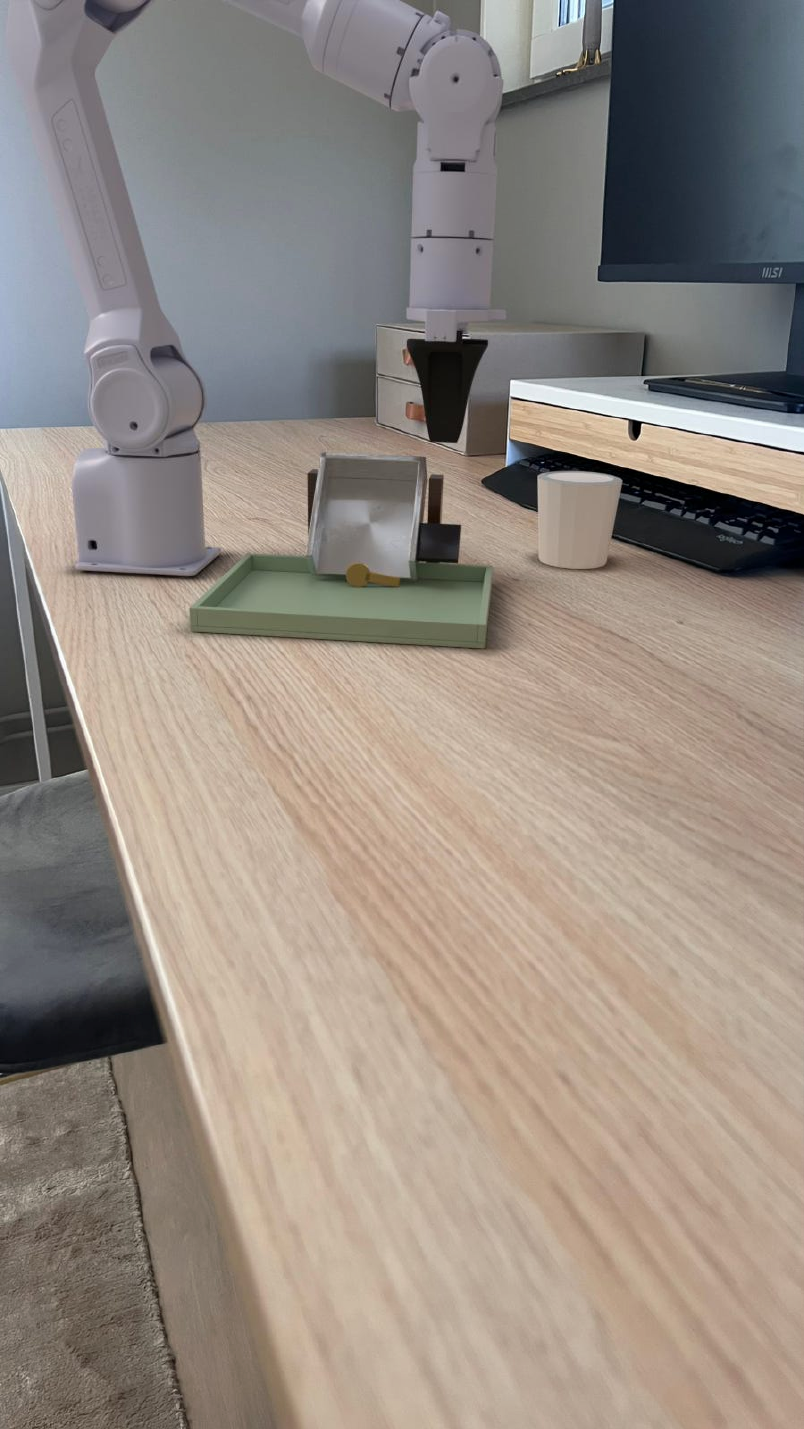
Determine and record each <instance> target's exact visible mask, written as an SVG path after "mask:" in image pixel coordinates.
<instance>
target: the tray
mask: <svg viewBox="0 0 804 1429" xmlns="http://www.w3.org/2000/svg"><path fill="white" fill-rule="evenodd" d="M493 570H494V566H493V565H482V564H466V563H465V564H463V563H441V562H440V563H426V562H422V561H419V568H418V578H417V581H402V580H400V583H399V587H394V586H389V585H383V584H377V583H372V582H368V583H367V584H366V585H365V586H362V587H354V586H352V585H350V584H349V583H348V581H347V579H346V577H327V576H311V573H310V569H309V565H308V562H307V558H306V555H292V554H291V555H289V554H287V555H286V554H272V553H271V554H270V553H269V554H268V553H251V552H250V553H249V552H247V553H245V555H244V556H242V557H241V558H240V559H239V560H238V561H237V562H236V563H235V564H234V565H233V566H232V567H231V568H230V569H229V570H227V571H226V573H225V574H223V576H221V577H220V579H218V580H217V581H216V582H215V583H214V584H213V585H212V586H211V587H209V589H207V590H206V592H204V593H203V594H202V595H201V596H200V597H199V598H197V600H196V601H195V602H193V604H192V605H190V607H189V610H188V611H189V625H190V626H189V627H190V630H189V631H190V632H197V633H211V634H229V635H230V634H231V635H245V636H247V635H248V636H265V637H282V638H298V639H315V640H329V641H330V640H332V641H349V642H363V643H364V642H366V643H380V644H381V643H383V644H398V645H399V644H401V645H414V646H415V645H418V646H432V647H451V648H467V649H468V648H469V649H483V650H484V649H485V648H486V642H487V641H486V640H487V632H488V623H489V614H490V606H491V596H492V587H493V574H494V573H493V572H494V571H493Z"/></svg>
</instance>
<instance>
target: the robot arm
mask: <svg viewBox="0 0 804 1429" xmlns="http://www.w3.org/2000/svg"><path fill="white" fill-rule="evenodd" d="M155 1H156V0H9V1H8V2H9V3H8V13H7V20H6V30H5V31H6V32H5V45H6V52H7V58H8V61H9V63H10V67H11V70H12V73H13V77H14V80H15V82H16V86H17V90H18V92H19V93H18V94H19V96H20V99H21V103H22V106H23V109H24V112H25V115H26V119H27V122H28V126H29V128H30V132H31V135H32V139H33V141H34V144H35V149H36V151H37V154H38V157H39V161H40V164H41V168H42V171H43V174H44V178H45V180H46V184H47V188H48V190H49V194H50V197H51V199H52V203H53V207H54V210H55V213H56V216H57V220H58V223H59V226H60V229H61V232H62V236H63V240H64V243H65V246H66V249H67V253H68V254H69V259H70V262H71V266H72V268H73V272H74V275H75V279H76V282H77V285H78V288H79V291H80V294H81V298H82V301H83V304H84V307H85V311H86V314H87V317H88V321H89V329H88V332H87V337H86V341H85V344H84V349H83V357H84V360H85V363H86V367H87V370H88V371H87V372H88V377H89V386H88V392H87V410H88V415H89V419H90V421H91V423H92V425H93V427H94V429H95V430H96V432H97V433H98V434H99V435H100V436H101V437H102V439H104V440H103V448H97V447H91V448H90V447H89V448H85V449H82V450H81V451H80V452H79V453H78V455H77V456H76V458H75V461H74V464H73V469H72V477H71V478H72V479H71V488H72V489H71V493H72V503H73V512H74V523H75V534H76V535H75V536H76V544H77V555H78V561H77V562H76V563H75V570H77V571H89V572H105V573H106V572H107V573H122V574H123V573H125V574H142V575H143V574H144V575H159V576H160V575H163V576H181V577H193V576H196V575H198V573H199V572H201V571H203V569H204V568H206V567H207V566H208V565H209V564H210V563H212V561H214V560H215V559H216V558H217V557H218V556H219V555H221V554H222V548H221V547H218V546H206V537H205V533H206V532H205V515H204V514H205V513H204V512H205V511H204V494H203V474H202V472H203V471H202V452H201V446H202V445H201V442H200V440H199V439H198V437H197V435H196V432H195V428H196V427H197V426H198V425H199V423H200V422H201V421H202V419H203V417H204V415H205V413H206V408H207V390H206V387H205V383H204V381H203V379H202V376H201V375H200V374H199V372H198V371H197V369H196V368H195V367H194V366H193V364H191V362H190V361H189V360H188V358H187V357H186V354H185V352H184V350H183V348H182V343H181V341H180V337H179V335H178V333H177V331H176V330H175V328H174V327H173V325H172V323H171V322H170V321H169V319H168V317H167V316H166V315H165V313H164V312H163V310H162V308H161V305H160V301H159V297H158V295H157V290H156V287H155V284H154V280H153V278H152V273H151V270H150V266H149V263H148V258H147V256H146V252H145V248H144V245H143V241H142V237H141V234H140V231H139V230H140V229H139V227H138V224H137V219H136V217H135V213H134V209H133V206H132V203H131V199H130V196H129V192H128V187H127V185H126V181H125V178H124V174H123V171H122V167H121V164H120V160H119V157H118V153H117V150H116V145H115V142H114V139H113V135H112V132H111V128H110V125H109V121H108V118H107V115H106V111H105V106H104V104H103V99H102V97H101V93H100V90H99V86H98V82H97V78H96V70H97V68H98V66H99V65H100V63H101V61H102V59H103V57H104V56H105V54H106V53H107V51H108V49H109V47H110V45H111V44H112V42H113V41H114V40H115V39H116V38H117V37H118V36H119V35H120V34H122V33H123V32H124V31H125V30H126V29H128V28H129V27H130V26H131V25H132V24H133V23H134V22H136V20H138V19H139V18H140V17H141V16H142V15H144V14H145V12H147V11H148V9H149V8H150V7H152V5H153V4H154V3H155ZM166 1H167V2H168V3H172V2H175V1H176V0H166ZM221 2H224V3H226V4H228V5H231V6H233V7H234V8H237V9H239V10H241V11H244V12H246V13H248V14H250V15H252V16H254V17H256V18H259V19H260V20H263V21H265V22H267V23H269V24H272V25H274V26H275V27H278V28H280V29H282V30H284V31H287V32H289V33H291V34H293V35H295V36H296V37H299V38H301V39H302V41H303V43H304V46H305V49H306V52H307V55H308V58H309V61H310V64H311V66H312V68H313V69H314V70H315V71H317V72H320V74H323V75H325V76H326V77H328V78H331V79H332V80H334V81H337V82H339V83H341V84H342V85H345V87H349V88H350V89H352V90H354V91H356V92H358V93H360V94H362V95H364V96H366V97H368V98H370V99H372V100H374V101H376V102H378V103H380V104H381V105H383V106H386V107H387V108H390V109H391V110H393V111H395V112H399V113H400V112H401V113H402V112H406V111H416V112H417V114H418V116H419V118H420V120H418V121H417V128H416V129H417V130H416V131H417V132H416V158H415V161H414V164H413V167H412V194H411V195H412V196H411V197H412V200H411V230H410V232H411V236H410V237H411V239H410V266H409V267H410V268H409V269H410V270H409V271H410V273H409V304H408V305H409V306H407V307H406V312H405V314H406V315H405V316H406V317H405V318H406V319H407V321H416V322H421V323H424V325H425V327H424V338H408V339H406V349H407V352H408V354H409V356H410V358H411V361H412V363H413V366H414V368H415V371H416V375H417V378H418V381H419V385H420V390H421V397H422V402H423V403H422V404H423V411H424V418H425V419H424V420H425V426H426V431H427V432H426V433H427V435H428V439H429V442H430V443H443V444H458V442H459V439H460V437H461V434H462V430H463V428H464V422H465V418H466V413H467V407H468V403H469V397H470V392H471V388H472V385H473V381H474V379H475V375H476V372H477V370H478V367H479V365H480V362H481V360H482V358H483V356H484V355H485V352H486V350H487V349H488V347H489V339H486V338H485V339H482V338H463V335H468V334H469V325H470V324H472V323H473V324H475V323H491V322H492V321H506V320H507V310H506V309H491V297H492V296H491V295H492V278H493V276H492V274H493V259H494V242H495V241H494V239H495V222H496V204H497V201H496V200H497V188H498V187H497V186H498V166H497V164H496V162H495V157H496V155H497V151H498V140H499V137H498V133H497V131H496V123H495V121H496V119H497V118H498V114H499V112H500V110H501V107H502V102H503V89H504V79H503V78H502V70H501V65H500V61H499V59H498V55H497V54H496V53H495V51H494V50H493V47H492V46H491V44H490V43H489V42H488V41H487V40H486V39H485V38H484V37H483V36H481V35H479V34H478V33H476V32H473V31H470V30H468V29H462V28H456V30H452V31H451V30H450V28H451V24H452V21H451V18H450V16H449V15H447V14H445V13H443V12H441V11H440V10H436V12H435V13H434V16H433V17H432V16H430V15H428V14H426V13H425V12H423V11H421V10H419V9H417V8H415V7H413V6H411V5H410V4H407V3H406V2H404V1H402V0H221Z"/></svg>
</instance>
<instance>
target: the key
mask: <svg viewBox="0 0 804 1429" xmlns="http://www.w3.org/2000/svg"><path fill="white" fill-rule="evenodd" d="M346 579H347V581H348V583H349V584H350V585H352V586H354V587H362V586H365V585H366V584H367V583H368V582H372V583H377V584H383V585H389V586H394V587H399V583H400V577H396V576H391V575H385V574H380V573H374V572H370V570H369V568H368V567H367V566H366V565H365V564H363V563H360V562H356V563H353V564H351V565H350V566H349V567H348V568H347V570H346Z"/></svg>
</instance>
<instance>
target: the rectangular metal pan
mask: <svg viewBox="0 0 804 1429" xmlns="http://www.w3.org/2000/svg"><path fill="white" fill-rule="evenodd" d="M317 469H318V474H317V481H316V488H315V495H314V501H313V508H312V515H311V521H310V528H309V535H308V534H307V543H306V550H305V556H306V558H307V562H308V565H309V569H310V573H311V576H327V577H346V570H347V568H348V567H349V566H350V565H351V564H353V563H356V562H360V563H363V564H365V565H366V566H367V567H368V568H369V570H370V572H374V573H380V574H385V575H391V576H396V577H400V580H402V581H417V578H418V568H419V562H440V563H445V564H459V561H460V549H461V539H462V538H461V536H462V524H457V523H455V524H454V523H442V524H437V523H427V522H424V517H425V509H426V498H427V490H428V467H427V457H426V456H417V455H416V456H415V455H397V454H395V455H394V454H393V455H391V454H369V453H350V452H349V453H348V452H346V453H345V452H324V451H323V452H322V451H321V452H320V454H319V462H318V468H317Z"/></svg>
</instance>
